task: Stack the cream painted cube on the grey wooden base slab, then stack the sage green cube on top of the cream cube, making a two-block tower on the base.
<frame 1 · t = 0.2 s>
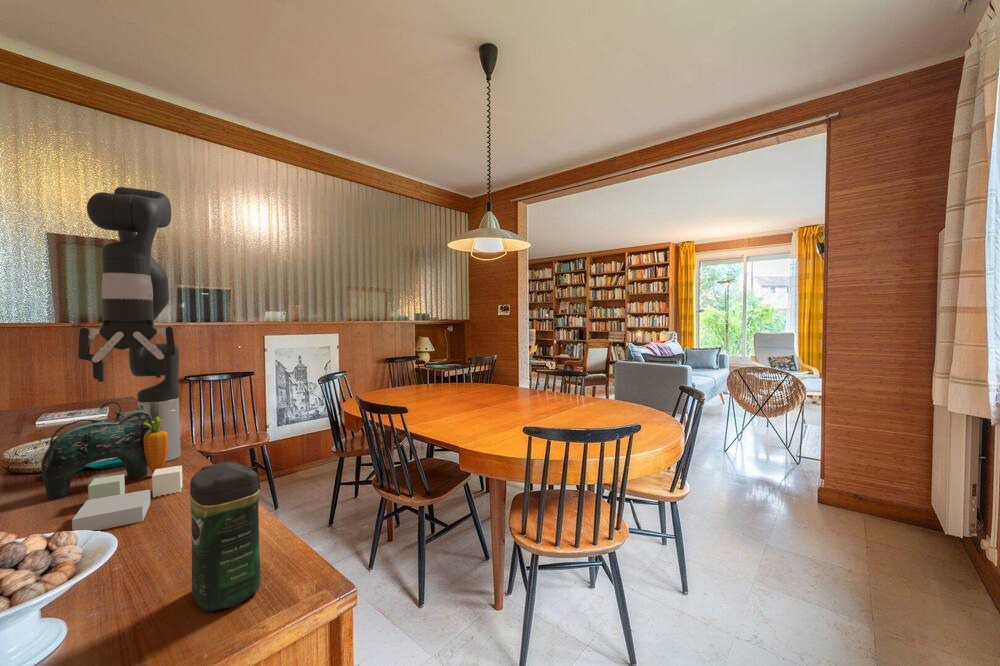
hand: (130, 379, 83), 28 cm above the sideboard, tool pointing down, fingers open, 8 cm apart
cream block: (168, 491, 98), on the sideboard
dark green arched piece: (103, 486, 101), on the sideboard
sage block: (107, 502, 92), on the sideboard
coffee jar: (227, 593, 61), on the sideboard
carrot: (157, 476, 108), on the sideboard
base slab: (114, 517, 85), on the sideboard
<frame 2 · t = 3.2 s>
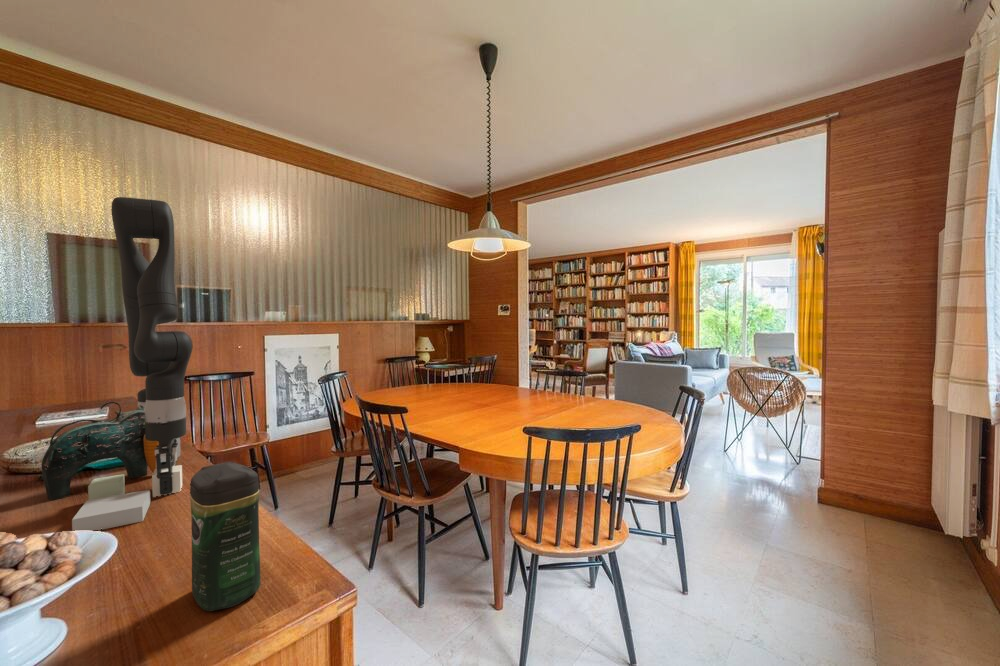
hand: (167, 489, 98), 0 cm above the sideboard, tool pointing down, fingers closed on cream block, 5 cm apart
cream block: (168, 491, 98), on the sideboard, touching gripper
everything else where it was.
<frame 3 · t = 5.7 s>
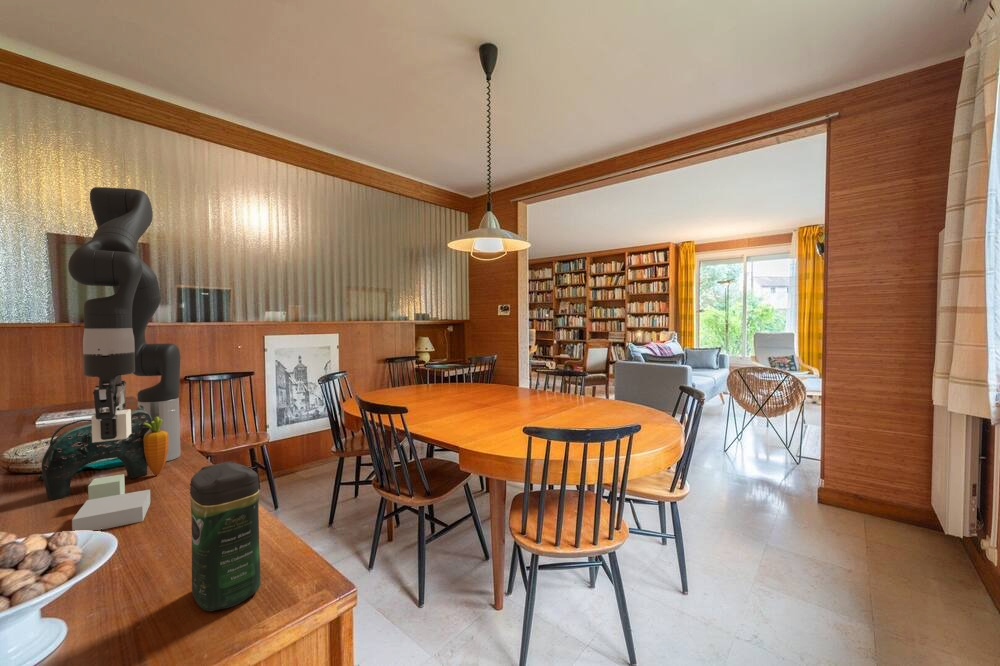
hand: (112, 435, 84), 17 cm above the sideboard, tool pointing down, fingers closed on cream block, 5 cm apart
cream block: (112, 437, 84), point 16 cm above the sideboard, touching gripper
everything else where it was.
when the fingers open (4 cm above the sideboard, at t = 8.3 s): cream block stays where it is, resting on base slab.
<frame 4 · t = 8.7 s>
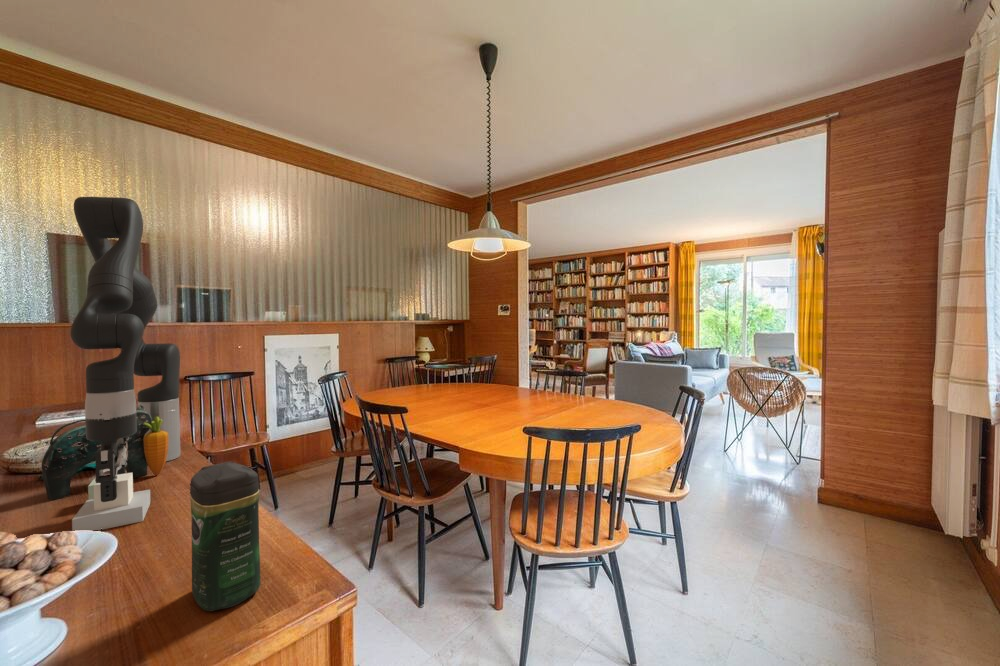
hand: (113, 493, 84), 5 cm above the sideboard, tool pointing down, fingers open, 8 cm apart
cream block: (114, 503, 85), point 3 cm above the sideboard, touching base slab
everything else where it was.
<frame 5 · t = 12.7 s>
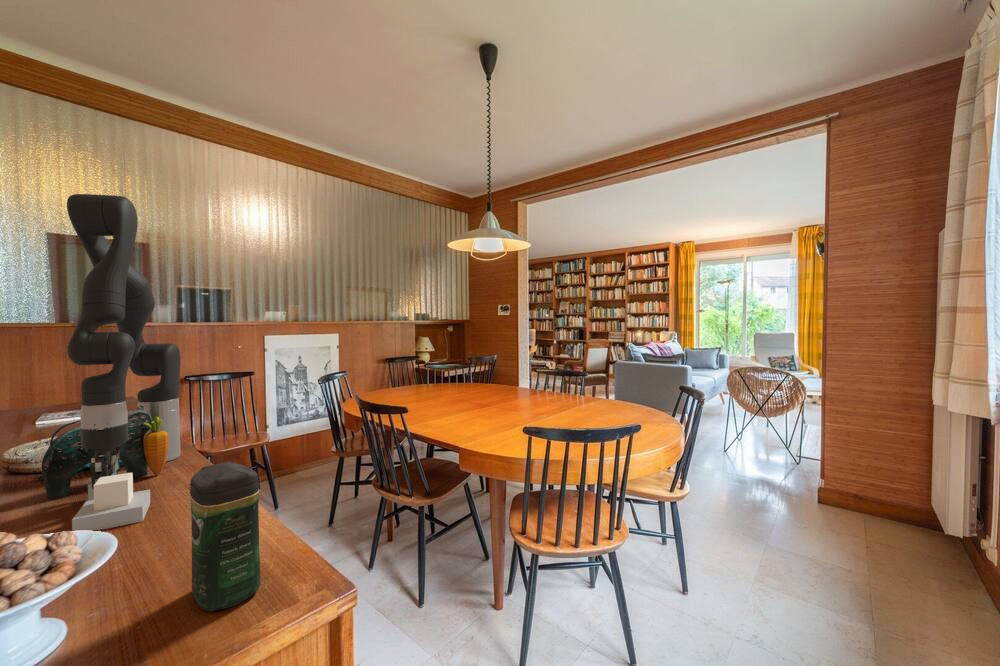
hand: (107, 499, 92), 0 cm above the sideboard, tool pointing down, fingers closed on sage block, 5 cm apart
sage block: (107, 501, 92), on the sideboard, touching gripper
everything else where it was.
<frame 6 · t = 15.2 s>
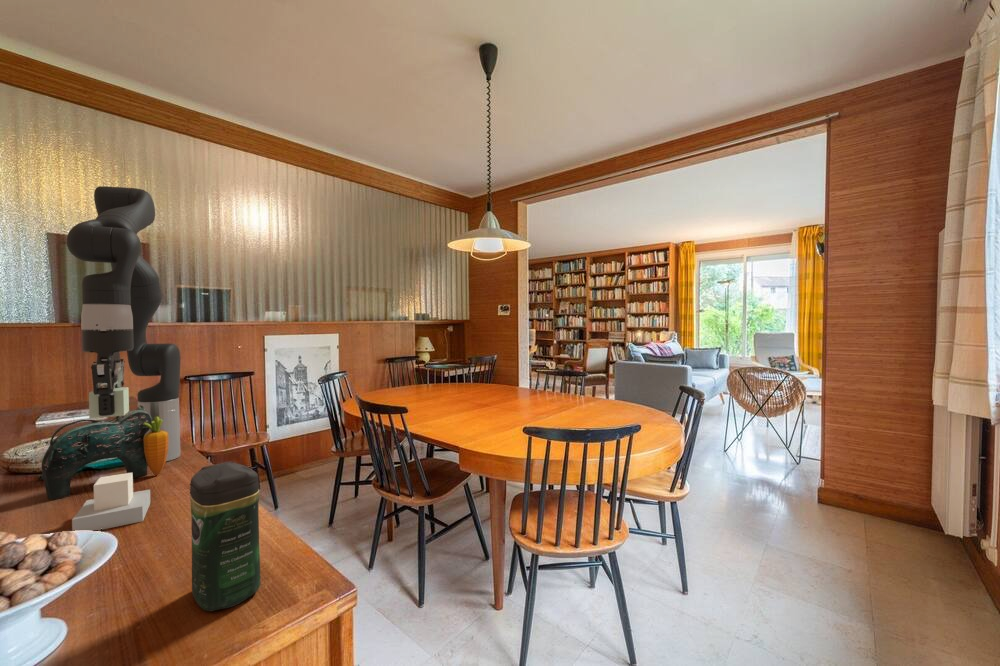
hand: (110, 412, 84), 22 cm above the sideboard, tool pointing down, fingers closed on sage block, 5 cm apart
sage block: (110, 414, 84), point 21 cm above the sideboard, touching gripper
everything else where it was.
when the fingers open (9 cm above the sideboard, at t = 17.8 s): sage block stays where it is, resting on cream block.
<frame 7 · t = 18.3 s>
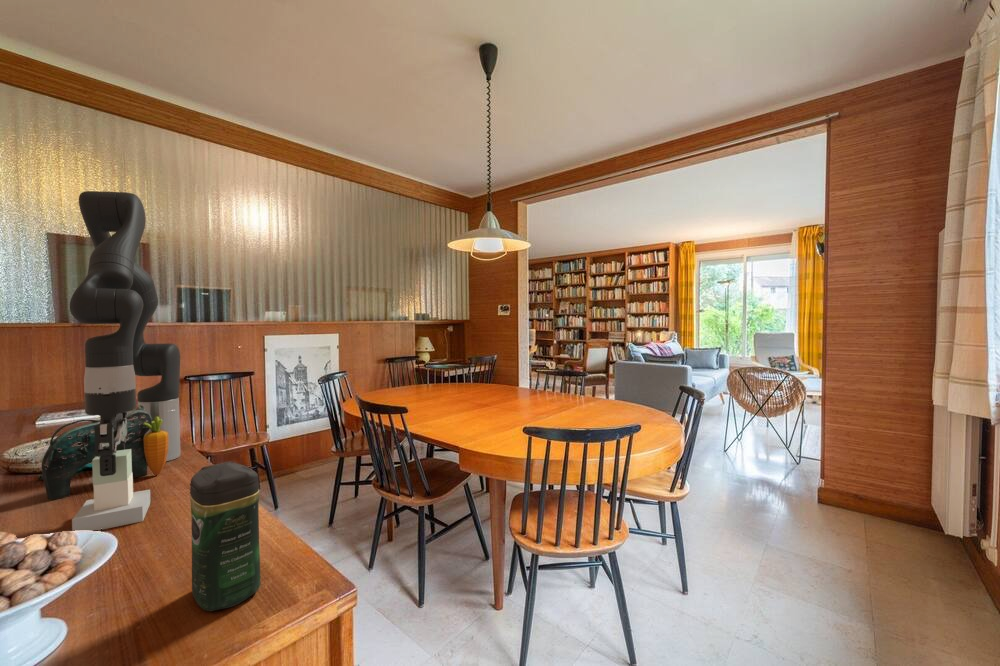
hand: (113, 468, 84), 10 cm above the sideboard, tool pointing down, fingers open, 8 cm apart
cream block: (114, 503, 85), point 3 cm above the sideboard, touching base slab, sage block
sage block: (113, 478, 84), point 8 cm above the sideboard, touching cream block
everything else where it was.
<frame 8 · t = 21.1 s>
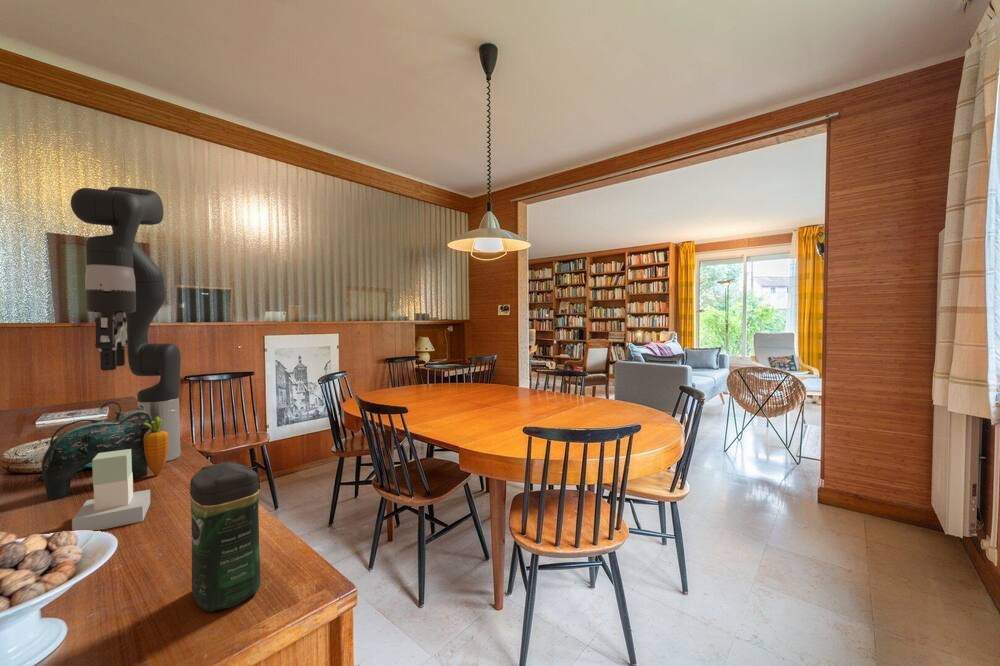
hand: (113, 368, 86), 30 cm above the sideboard, tool pointing down, fingers open, 8 cm apart
nothing on the sideboard moved.
at the end: cream block 0.0 cm off-centre on the base slab, point 3.0 cm above the base slab's base; sage block inside the target area on the base slab (0.1 cm from its centre), point 8.0 cm above the base slab's base; sage block tilted 0° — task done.
